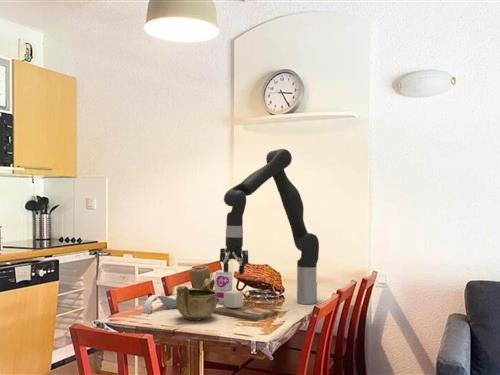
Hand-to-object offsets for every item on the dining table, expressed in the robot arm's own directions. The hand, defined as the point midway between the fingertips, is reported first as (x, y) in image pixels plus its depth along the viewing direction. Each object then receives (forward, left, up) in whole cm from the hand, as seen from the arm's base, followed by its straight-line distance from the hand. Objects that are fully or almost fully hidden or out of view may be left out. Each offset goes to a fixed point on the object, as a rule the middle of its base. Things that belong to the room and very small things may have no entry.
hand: (233, 273), depth 229 cm
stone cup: (-18, -34, -17) cm, 42 cm away
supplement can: (-12, -16, -17) cm, 26 cm away
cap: (0, 0, -14) cm, 14 cm away
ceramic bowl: (+20, -3, -17) cm, 26 cm away
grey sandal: (+15, -27, -17) cm, 35 cm away
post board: (0, +6, -17) cm, 18 cm away
